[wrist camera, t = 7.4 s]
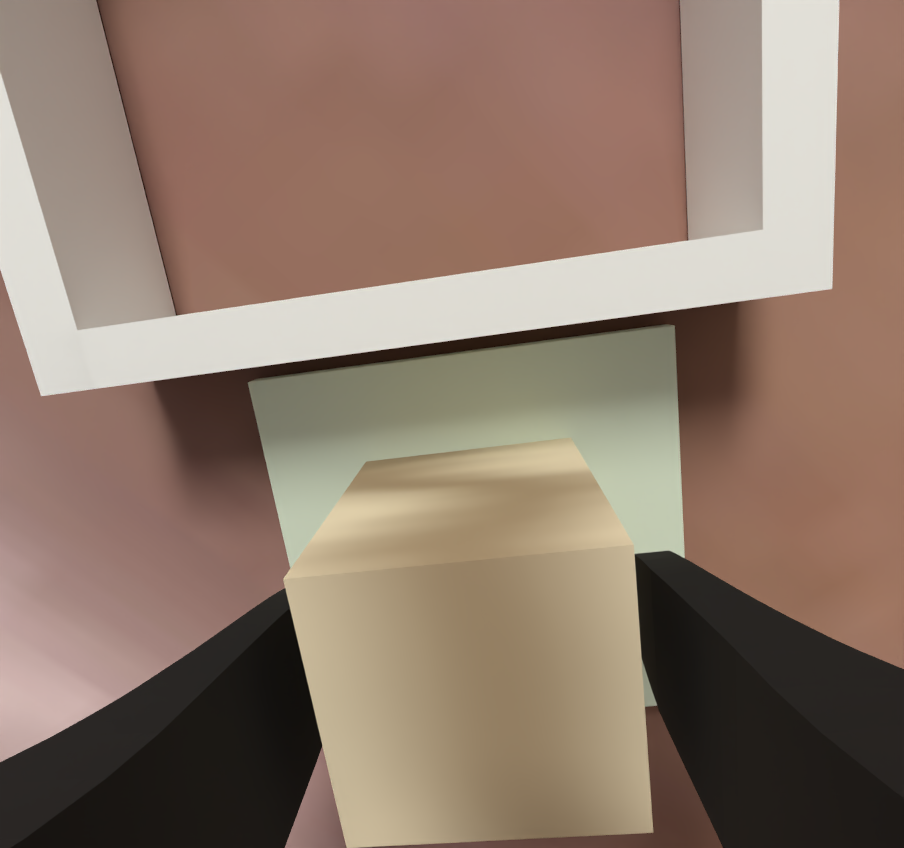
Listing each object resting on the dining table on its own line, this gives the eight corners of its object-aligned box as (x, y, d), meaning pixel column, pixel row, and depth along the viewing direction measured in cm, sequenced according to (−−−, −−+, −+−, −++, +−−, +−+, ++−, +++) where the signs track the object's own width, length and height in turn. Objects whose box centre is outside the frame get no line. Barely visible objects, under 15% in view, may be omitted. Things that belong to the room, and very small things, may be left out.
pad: (332, 713, 14) (327, 728, 14) (257, 378, 12) (247, 382, 12) (683, 688, 13) (690, 703, 13) (666, 323, 11) (674, 325, 11)
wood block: (398, 638, 13) (346, 848, 8) (365, 461, 12) (283, 579, 7) (587, 622, 12) (653, 832, 8) (570, 437, 11) (634, 545, 7)
